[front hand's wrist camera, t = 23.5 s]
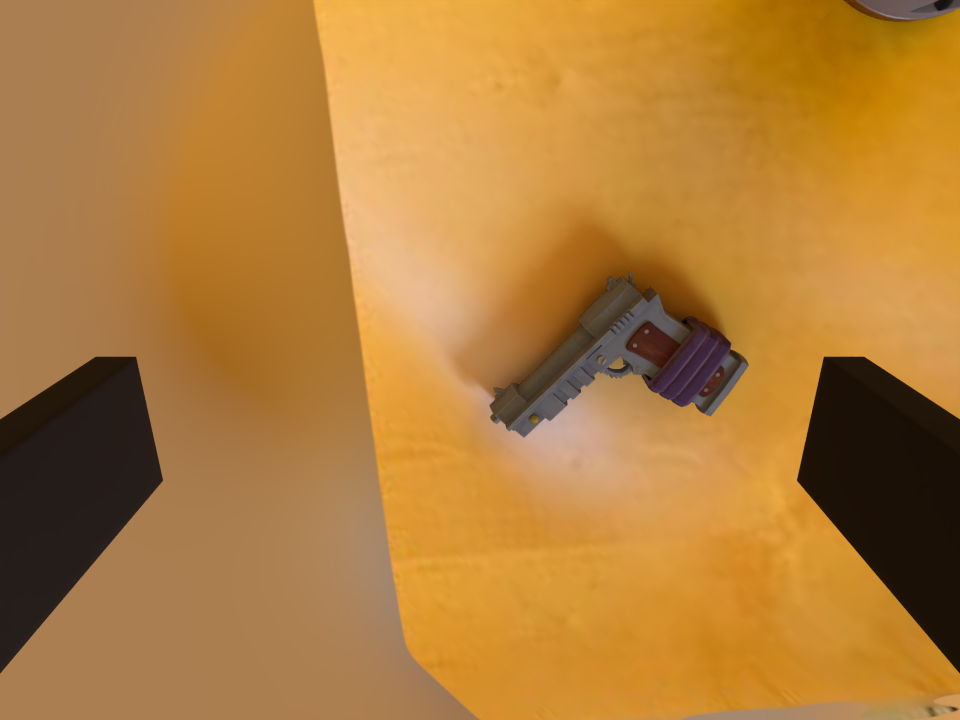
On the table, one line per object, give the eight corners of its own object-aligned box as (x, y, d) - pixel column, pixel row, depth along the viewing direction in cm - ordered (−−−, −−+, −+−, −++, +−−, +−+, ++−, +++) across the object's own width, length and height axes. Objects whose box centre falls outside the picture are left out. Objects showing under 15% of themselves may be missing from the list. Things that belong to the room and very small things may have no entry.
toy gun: (592, 491, 61) (476, 396, 57) (746, 358, 55) (629, 243, 52) (599, 516, 57) (475, 415, 53) (764, 375, 52) (640, 253, 48)
